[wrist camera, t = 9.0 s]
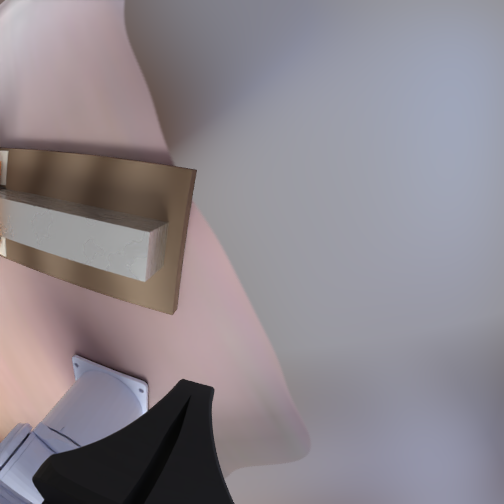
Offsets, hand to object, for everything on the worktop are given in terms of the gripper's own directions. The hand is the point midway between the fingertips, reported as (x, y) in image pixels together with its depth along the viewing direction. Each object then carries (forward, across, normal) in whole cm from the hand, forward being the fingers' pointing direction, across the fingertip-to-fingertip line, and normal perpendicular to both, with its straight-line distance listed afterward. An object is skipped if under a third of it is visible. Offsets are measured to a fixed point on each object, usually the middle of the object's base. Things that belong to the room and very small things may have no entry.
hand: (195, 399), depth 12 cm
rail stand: (+10, +17, -3) cm, 20 cm away
